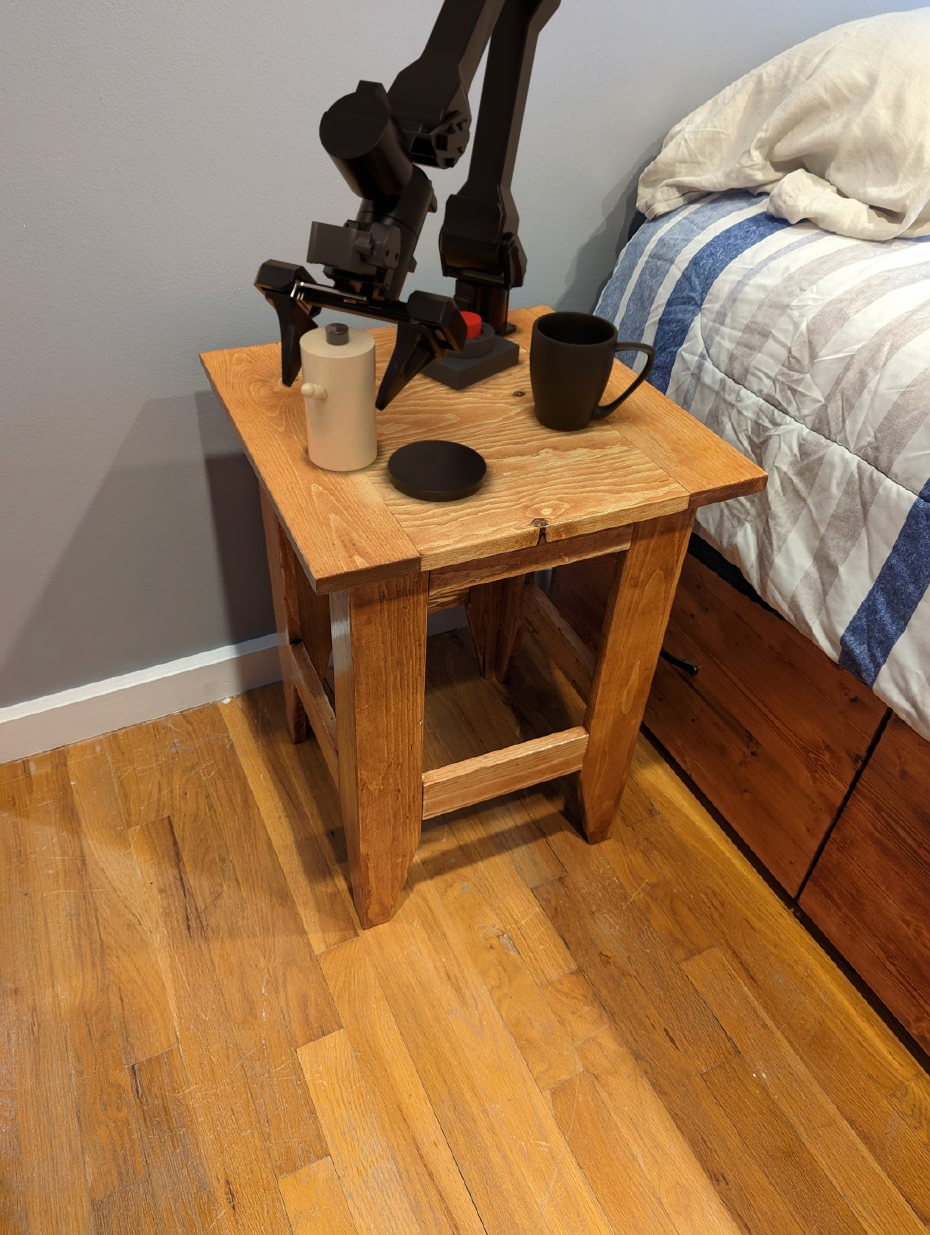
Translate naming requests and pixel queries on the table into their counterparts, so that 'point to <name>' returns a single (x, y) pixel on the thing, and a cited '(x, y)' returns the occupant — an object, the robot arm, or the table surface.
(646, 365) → the mug
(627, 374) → the table surface
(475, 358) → the switch block
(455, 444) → the plate
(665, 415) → the table surface
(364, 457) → the cream cylinder
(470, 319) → the stop button
